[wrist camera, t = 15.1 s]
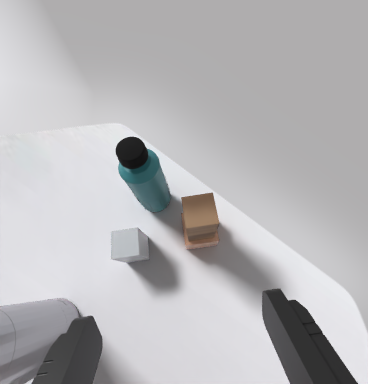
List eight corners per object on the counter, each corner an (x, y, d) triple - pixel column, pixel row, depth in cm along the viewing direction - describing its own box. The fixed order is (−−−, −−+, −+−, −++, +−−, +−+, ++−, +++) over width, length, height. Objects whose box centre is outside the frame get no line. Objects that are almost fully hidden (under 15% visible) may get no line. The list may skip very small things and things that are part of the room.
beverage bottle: (177, 204, 44) (164, 152, 26) (151, 221, 43) (117, 178, 25) (162, 182, 47) (140, 119, 28) (137, 197, 46) (96, 142, 27)
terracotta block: (216, 245, 41) (219, 241, 36) (186, 249, 41) (185, 245, 36) (211, 216, 43) (212, 208, 39) (182, 220, 43) (181, 213, 39)
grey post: (149, 259, 40) (138, 254, 33) (126, 262, 40) (111, 259, 33) (147, 236, 42) (137, 227, 35) (126, 239, 42) (111, 231, 35)
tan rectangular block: (213, 237, 37) (219, 223, 27) (188, 241, 37) (185, 228, 27) (209, 213, 38) (212, 192, 29) (185, 217, 38) (181, 197, 29)
